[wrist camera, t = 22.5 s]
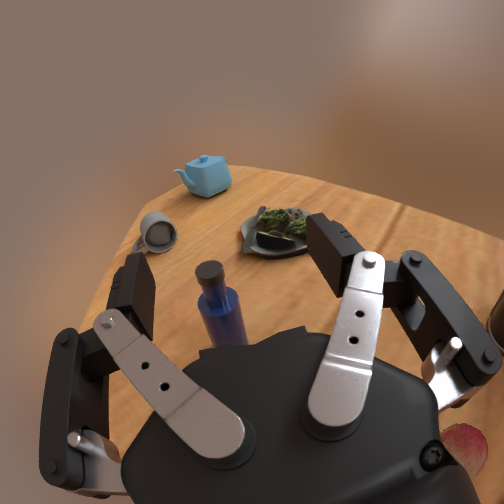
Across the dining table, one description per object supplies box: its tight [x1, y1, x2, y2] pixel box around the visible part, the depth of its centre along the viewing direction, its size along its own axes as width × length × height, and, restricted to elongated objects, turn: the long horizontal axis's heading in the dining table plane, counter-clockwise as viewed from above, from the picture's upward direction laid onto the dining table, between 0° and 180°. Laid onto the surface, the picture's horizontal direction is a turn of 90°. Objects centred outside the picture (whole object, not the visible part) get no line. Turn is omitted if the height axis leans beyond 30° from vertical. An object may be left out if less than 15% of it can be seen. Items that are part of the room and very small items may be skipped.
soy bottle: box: [195, 260, 249, 348], centre depth 33 cm, size 5×5×15 cm
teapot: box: [174, 155, 232, 198], centre depth 79 cm, size 12×18×12 cm
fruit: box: [440, 423, 488, 480], centre depth 16 cm, size 8×8×8 cm
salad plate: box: [241, 206, 311, 259], centre depth 58 cm, size 19×18×5 cm
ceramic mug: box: [133, 212, 177, 254], centre depth 59 cm, size 11×8×8 cm
